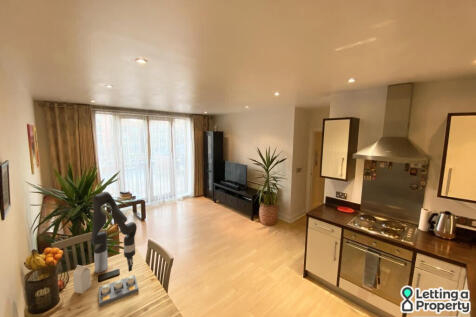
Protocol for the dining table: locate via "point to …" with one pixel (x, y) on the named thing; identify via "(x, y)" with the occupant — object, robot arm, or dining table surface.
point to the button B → (118, 284)
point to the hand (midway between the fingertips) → (130, 270)
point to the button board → (117, 292)
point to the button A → (105, 289)
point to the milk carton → (81, 279)
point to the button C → (130, 280)
